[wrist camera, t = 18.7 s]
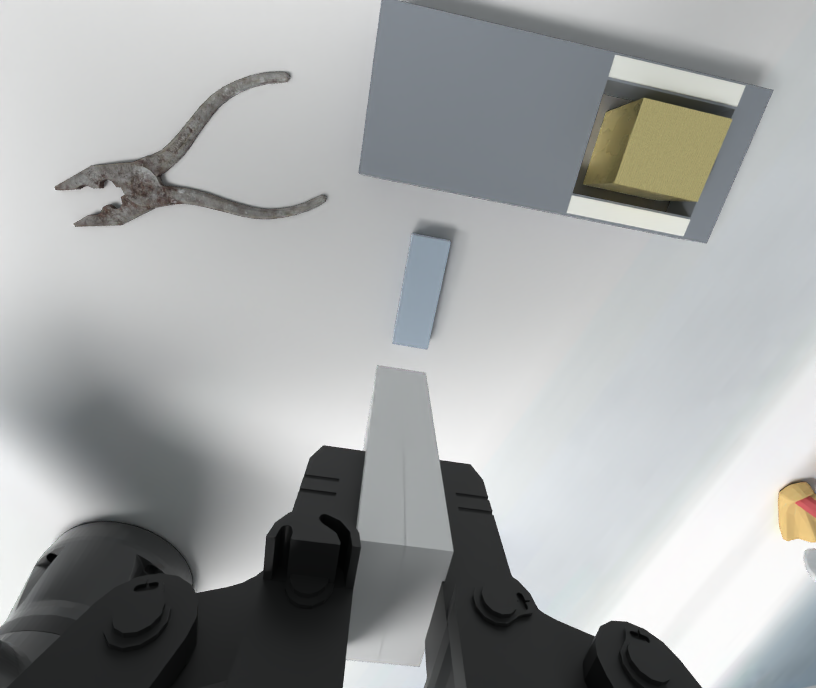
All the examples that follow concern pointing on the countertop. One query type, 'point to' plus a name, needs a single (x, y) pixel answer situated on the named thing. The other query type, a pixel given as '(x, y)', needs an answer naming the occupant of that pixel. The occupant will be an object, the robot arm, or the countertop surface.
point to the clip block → (656, 150)
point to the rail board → (529, 116)
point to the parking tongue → (420, 290)
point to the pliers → (145, 173)
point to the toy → (799, 519)
